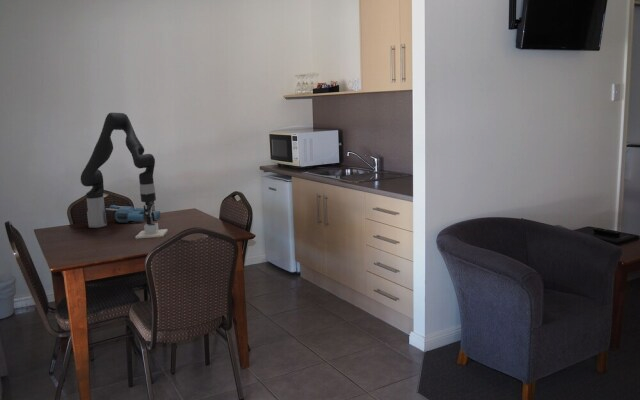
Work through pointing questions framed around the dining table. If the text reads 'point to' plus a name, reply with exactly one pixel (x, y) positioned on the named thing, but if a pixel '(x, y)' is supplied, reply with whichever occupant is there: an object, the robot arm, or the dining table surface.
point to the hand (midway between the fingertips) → (150, 222)
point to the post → (158, 234)
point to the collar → (151, 228)
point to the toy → (130, 213)
